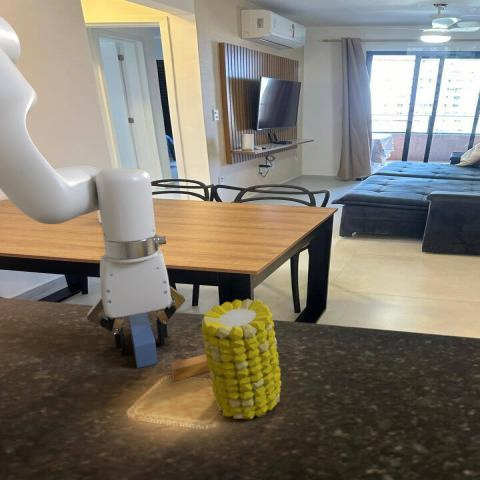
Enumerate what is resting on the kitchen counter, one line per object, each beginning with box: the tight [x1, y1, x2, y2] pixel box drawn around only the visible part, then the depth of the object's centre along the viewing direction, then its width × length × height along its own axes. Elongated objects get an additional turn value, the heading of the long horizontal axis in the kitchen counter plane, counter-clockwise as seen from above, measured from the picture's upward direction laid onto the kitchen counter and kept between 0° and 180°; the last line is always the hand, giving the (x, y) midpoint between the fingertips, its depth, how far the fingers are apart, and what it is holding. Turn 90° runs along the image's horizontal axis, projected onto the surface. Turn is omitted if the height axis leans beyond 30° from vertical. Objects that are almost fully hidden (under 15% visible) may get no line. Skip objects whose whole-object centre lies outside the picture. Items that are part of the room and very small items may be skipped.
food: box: [200, 298, 282, 420], centre depth 52 cm, size 15×12×10 cm
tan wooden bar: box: [170, 353, 210, 382], centre depth 61 cm, size 12×2×2 cm, turn 120°
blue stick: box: [127, 312, 158, 369], centre depth 66 cm, size 12×3×4 cm, turn 30°
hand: (142, 345), depth 66 cm, fingers open, 5 cm apart
